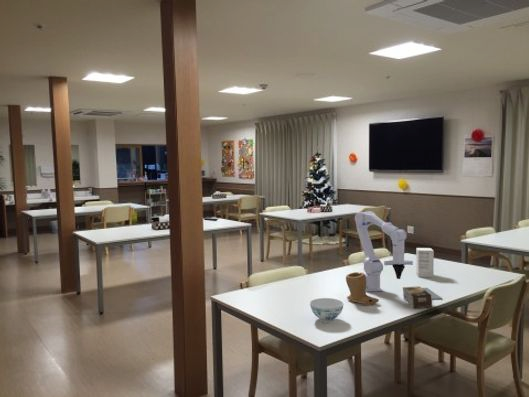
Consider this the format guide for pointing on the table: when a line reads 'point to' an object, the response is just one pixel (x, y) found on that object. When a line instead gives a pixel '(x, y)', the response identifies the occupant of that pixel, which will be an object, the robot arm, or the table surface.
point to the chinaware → (326, 308)
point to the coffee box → (417, 297)
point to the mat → (432, 294)
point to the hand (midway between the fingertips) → (398, 278)
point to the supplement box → (424, 262)
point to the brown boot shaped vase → (359, 289)
